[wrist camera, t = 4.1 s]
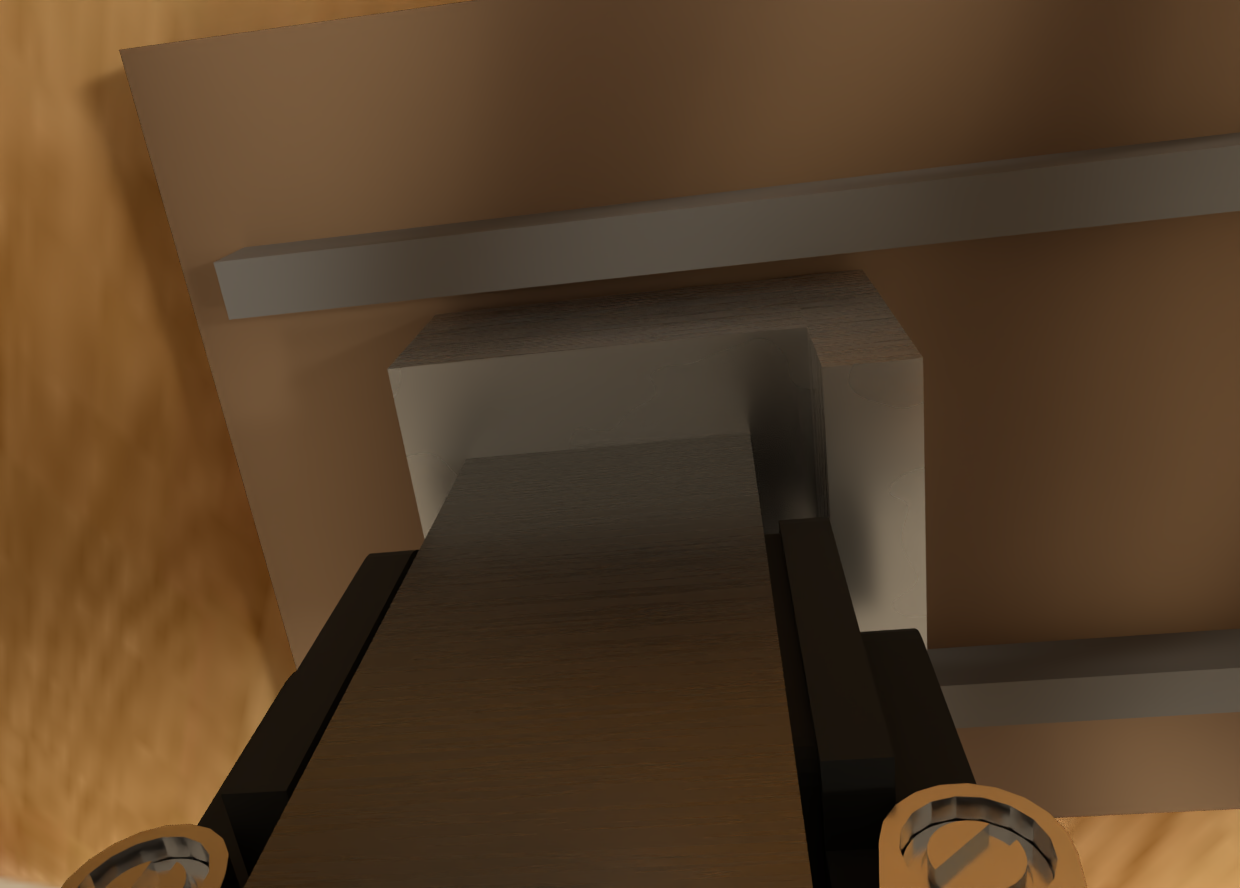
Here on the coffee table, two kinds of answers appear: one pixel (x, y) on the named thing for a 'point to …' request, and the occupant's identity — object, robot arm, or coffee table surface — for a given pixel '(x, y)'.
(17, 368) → the coffee table surface
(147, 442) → the coffee table surface
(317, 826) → the handle
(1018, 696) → the board
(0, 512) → the coffee table surface
